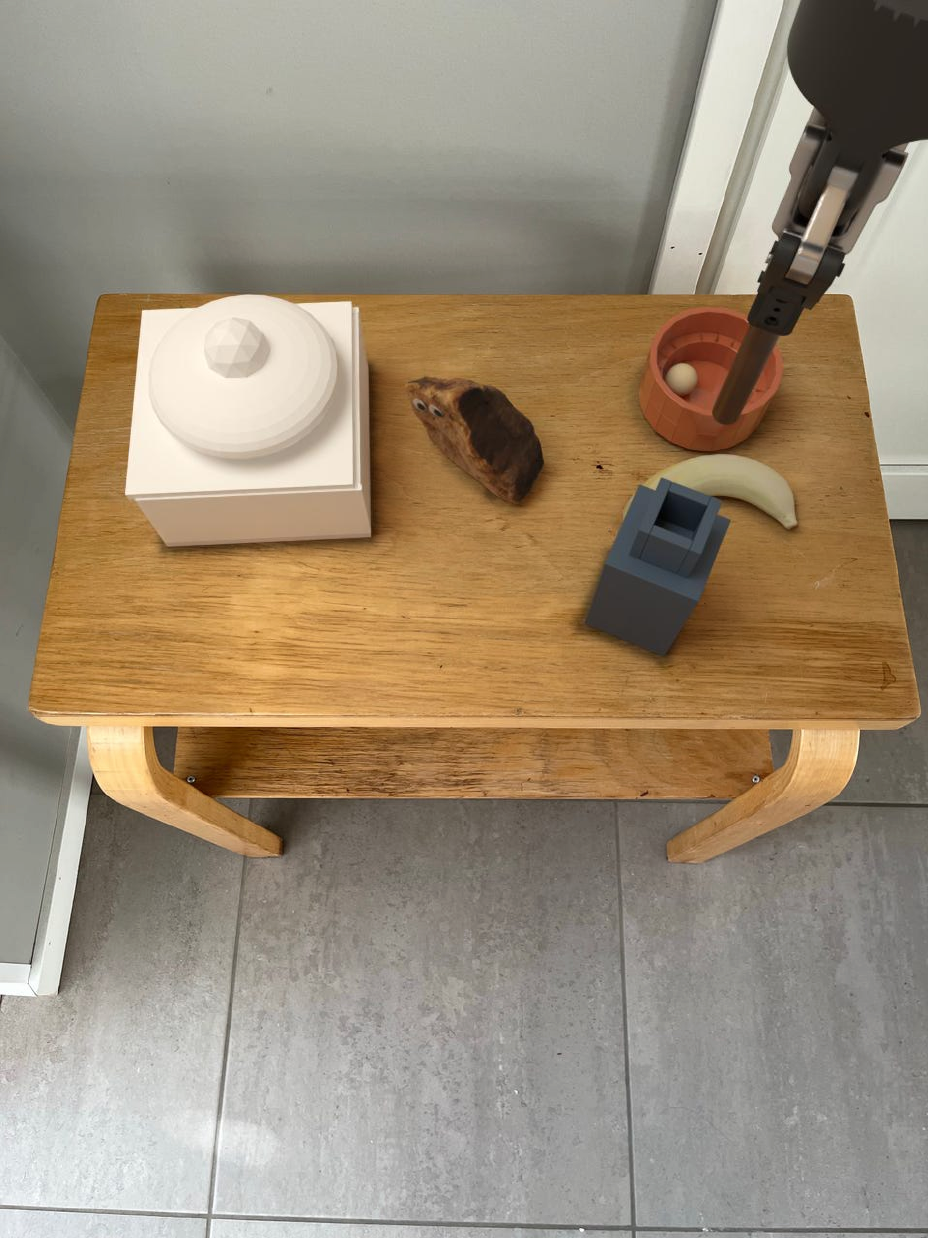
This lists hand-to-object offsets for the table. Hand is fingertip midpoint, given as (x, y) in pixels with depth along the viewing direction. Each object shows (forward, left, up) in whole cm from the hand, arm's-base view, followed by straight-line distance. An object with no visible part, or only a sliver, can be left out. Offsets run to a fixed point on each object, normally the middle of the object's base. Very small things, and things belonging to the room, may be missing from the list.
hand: (775, 307), depth 45 cm
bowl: (+2, -19, -34) cm, 39 cm away
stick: (0, 0, -9) cm, 9 cm away
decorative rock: (+18, -5, -35) cm, 39 cm away
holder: (0, +2, -34) cm, 34 cm away
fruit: (-2, -8, -35) cm, 36 cm away
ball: (+4, -19, -32) cm, 38 cm away
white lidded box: (+35, +2, -35) cm, 49 cm away
